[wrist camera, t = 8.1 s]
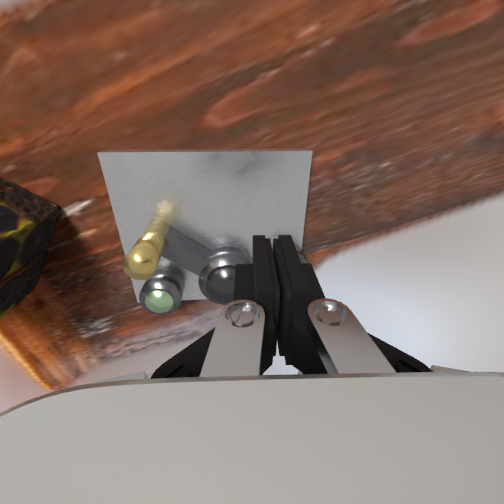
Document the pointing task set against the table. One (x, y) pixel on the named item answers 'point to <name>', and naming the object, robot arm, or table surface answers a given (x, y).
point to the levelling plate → (205, 205)
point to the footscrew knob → (186, 260)
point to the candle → (22, 241)
